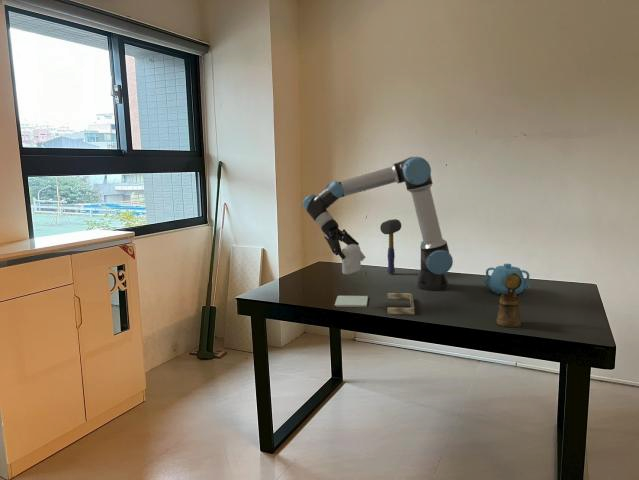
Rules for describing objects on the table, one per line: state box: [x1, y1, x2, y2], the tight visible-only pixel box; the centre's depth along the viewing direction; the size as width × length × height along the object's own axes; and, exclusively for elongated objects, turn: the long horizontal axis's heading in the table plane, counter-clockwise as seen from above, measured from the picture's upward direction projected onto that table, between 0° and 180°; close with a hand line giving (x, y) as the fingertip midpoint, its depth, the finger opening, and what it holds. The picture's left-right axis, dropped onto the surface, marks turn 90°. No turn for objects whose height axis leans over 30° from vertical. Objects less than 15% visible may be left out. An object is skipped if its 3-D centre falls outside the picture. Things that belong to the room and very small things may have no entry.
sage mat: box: [334, 295, 369, 308], centre depth 222 cm, size 14×14×1 cm
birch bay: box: [386, 292, 415, 315], centre depth 214 cm, size 11×22×2 cm, turn 172°
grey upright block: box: [341, 244, 362, 275], centre depth 218 cm, size 10×4×12 cm, turn 140°
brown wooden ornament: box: [496, 273, 522, 328], centre depth 189 cm, size 9×14×18 cm, turn 148°
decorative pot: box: [484, 263, 531, 295], centre depth 229 cm, size 16×16×14 cm
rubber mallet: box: [379, 218, 402, 275], centre depth 268 cm, size 12×8×30 cm, turn 143°
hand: (356, 261), depth 217 cm, fingers closed on grey upright block, 10 cm apart
